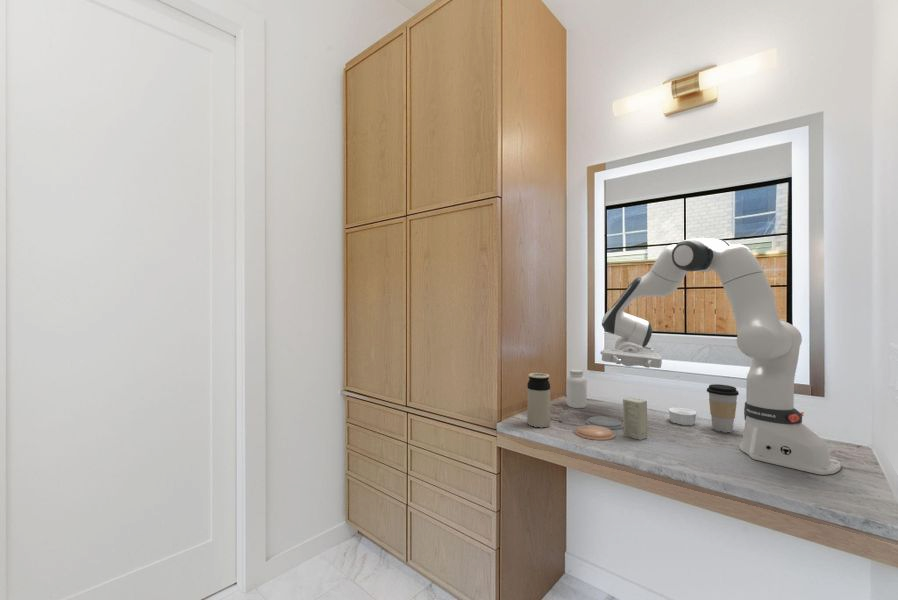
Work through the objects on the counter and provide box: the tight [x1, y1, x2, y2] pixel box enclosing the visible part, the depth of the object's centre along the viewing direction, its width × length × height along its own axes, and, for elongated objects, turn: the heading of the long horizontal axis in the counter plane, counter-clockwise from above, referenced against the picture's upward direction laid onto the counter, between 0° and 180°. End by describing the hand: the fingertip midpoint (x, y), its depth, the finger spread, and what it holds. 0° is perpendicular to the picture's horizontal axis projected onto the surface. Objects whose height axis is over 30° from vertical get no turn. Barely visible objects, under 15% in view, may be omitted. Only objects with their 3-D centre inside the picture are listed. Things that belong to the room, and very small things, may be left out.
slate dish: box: [585, 415, 624, 431], centre depth 151 cm, size 13×13×1 cm
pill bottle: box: [566, 369, 588, 409], centre depth 175 cm, size 8×8×15 cm
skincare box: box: [622, 397, 648, 441], centre depth 137 cm, size 6×4×12 cm
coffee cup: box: [705, 383, 740, 433], centre depth 144 cm, size 9×9×15 cm
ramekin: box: [668, 407, 697, 426], centre depth 153 cm, size 9×9×4 cm
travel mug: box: [526, 372, 551, 429], centre depth 149 cm, size 8×8×18 cm
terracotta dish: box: [573, 424, 616, 441], centre depth 140 cm, size 13×13×1 cm
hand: (632, 363), depth 147 cm, fingers open, 8 cm apart
